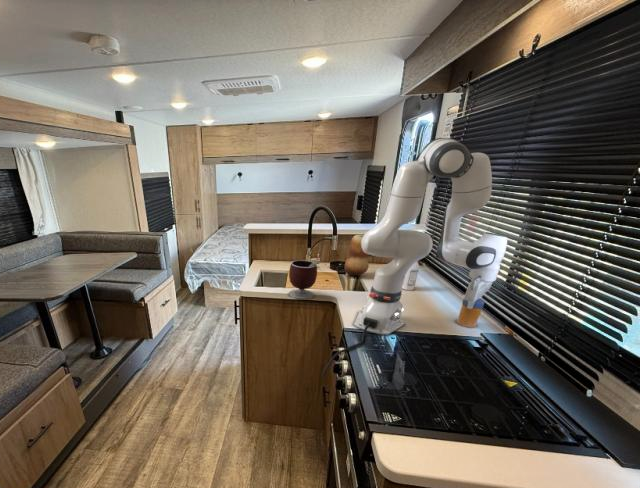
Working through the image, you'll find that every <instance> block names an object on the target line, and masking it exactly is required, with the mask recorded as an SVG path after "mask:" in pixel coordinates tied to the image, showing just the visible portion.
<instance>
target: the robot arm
mask: <svg viewBox="0 0 640 488" xmlns="http://www.w3.org/2000/svg"><path fill="white" fill-rule="evenodd" d="M490 160H491V159H490V157H489V155H487V154H486V153H483V152H470V150H469V149H468V148H467V146H466V145H465V144H463V143H461V142H459V141H458V140H456V139H454V138H448V137H447V138H446V137H437V138H435V139H432V140H431V141H429V142H428V143H427V144H426V145H425V146H424V147H423V149H421V151H420V153H419V154H418V155H417V156H416V157H415V159H414V160H410V161H407V162H405V163H403V164H401V165H400V166H399V168H398V170H397V172H396V174H395V178H394V180H393V184H392V186H391V187H392V188H391V190H390V191H391V192H390V196H389V200H388V204H387V207H386V211H385V214H384V216H383V217H382V219H381V220H380V221H379V223H377V224H376V225H374V227H373V228H371V229H370V230H367V231H366V232H365V233H364V234H363V235H364V236H363V238H362V241H361V247H362V250H363V251H364V253H365V254H369V255H368V256H373V257H377V258H393V259H392V260H391V261H390V262H388V263H386V264H383V265H381V266H379V267H378V268H376V270H375V272H374V276H373V277H374V278H373V283H372V286H371V288H370V290H369V295H368V296H366V300H365V303H364V306H363V307H362V309H360V310H358V311H359V312H358V314H357V316H356V318H355V321H354V326H355V327H357V328H359V329H360V330H363V331H362V335H361V340H360V341H359V342H357V343H355V344H353V345H350V346H348V347H345V348H342V349H341V350H339V351H337V352H335V354H333V355H332V357H331V358H330V360H329V361H328V363H327V364H326V365H325V367H324V369H323V371H322V374H321V377H322V378H324V377H325V376H326V374H327V371H328V369H329V368H330V366H331V365H332V364H333V361H334V360H335V359H336V357H338V356H339V355H341V354H342V353H344V352H347V351H349V350H352V349H354V348H356V347H359V346H361V345H362V344H363V343H364V341H365V335H366V333H367V332H368V333H373V334H377V335H382V336H389V335H390V334H392V333H393V332H395V331H396V330H398V329H399V328H401V327H402V326H404V324H405V321H404V320H402V319H401V317H402V313H403V311H404V310H405V309H404V308H403V307H404V305H403V303H402V302H401V298H402V295H403V291H402V290H403V289H402V284H403V281H404V278H405V275H406V273H407V271H408V270H409V268H410V267H411V266H412V265H413V264H414V263H416V262H419V261H420V260H422V259H425V258H426V257H427V256H428V255H429V254H430V253H431V251H432V250H433V246H434V245H433V244H434V243H433V242H434V241H433V238H432V236H431V235H430V234H429V233H427V232H423V231H418V230H408V229H407V230H405V229H400V228H401V227H402V226H404V225H406V224H409V223H410V222H413V221H414V220H415V219H417V218H418V216H420V214H421V209H422V205H423V202H424V198H425V194H426V191H427V186H428V184H429V182H430V180H431V179H432V178H433V177H434V176H435V177H438V178H442V179H451V198H450V201H449V202H448V203H446V206H445V208H444V213H443V219H442V226H441V233H440V241H439V244H438V246H437V250H436V251H437V257H438V259H439V261H441V262H444V263H449V264H453V265H456V266H458V267H462V268H465V269H468V270H469V274H468V277H469V278H470V279H471V281H470V282H469V283H468V285H467V289H466V291H465V294H464V297H463V299H465V300H467V301H468V306H467V308H469V309H472V308H473V307H474V302H475V301H476V300H477V299H478V298H479V299H482V298H483V296H484V295H485V294H486V293H487V292H488V291H489V290H490V289H491V287H492V286H493V285H492V284H493V283H494V282H495V281H496V280H497V278H498V275H499V272H500V269H501V262H502V260H504V257H505V254H506V251H507V246H508V237H507V236H506V235H504V234H499V233H493V232H484V233H483V234H482V235H481V236H480V238H478V239H476V240H474V241H467V240H463V238H461V237H460V228H461V223H462V218H463V217H464V216H465V215H470V214H472V213H475V212H477V211H480V210H481V209H482V208H484V207H485V206H486V205H487V204H488V203H489V202H490V199H491V198H492V191H493V190H492V189H493V176H492V175H493V174H492V173H493V172H492V166H491V161H490Z"/></svg>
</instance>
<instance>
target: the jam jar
mask: <svg viewBox="0 0 640 488" xmlns="http://www.w3.org/2000/svg"><path fill="white" fill-rule="evenodd" d="M482 309H483V308H472V309H469V308H467V306H465V305H464V304H463V303H462V304H461V307H460V310H459V313H458V316H457V319H456V323H457V324H458V325H459V326H462V327H466V328H475V327H476V326H477V325H478V322H479V318H480V316H481V312H482Z"/></svg>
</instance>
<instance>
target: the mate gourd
mask: <svg viewBox="0 0 640 488" xmlns="http://www.w3.org/2000/svg"><path fill="white" fill-rule="evenodd" d="M319 263H320V264H321V260H318V261H317V260H316V261H313V260H308V259H307V260H306V259H298V260H297V259H296V260H293V261H291V263H290V266H289V270H288V271H289V273H288V276H289V277H288V278H289V282H290V284H291V285H292V286H293V287H294V288H296V289H292V290H290V291H289V294H288V295H289V296H290V297H291V298H293V299H296V300H301V301H302V300H309V299H312V298H313V297H314V293H313V292H312V291H311V290H307V289H310V288H312V287H313V286H314V285H315V284H316V280H317V277H318V266H317V265H318V264H319Z"/></svg>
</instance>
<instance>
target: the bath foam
mask: <svg viewBox="0 0 640 488" xmlns="http://www.w3.org/2000/svg"><path fill="white" fill-rule="evenodd" d="M419 269H420V264H419V261H417V262H416V263H414V264H413V265H412V266H411V267H410V268H409V270H408V271H407V273H406V275H405V278H404V281H403V284H402V288H401V290H405V291H413V290H414V289H415V288H416V287H415V286H416V282H417V278H418V274H419Z"/></svg>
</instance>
